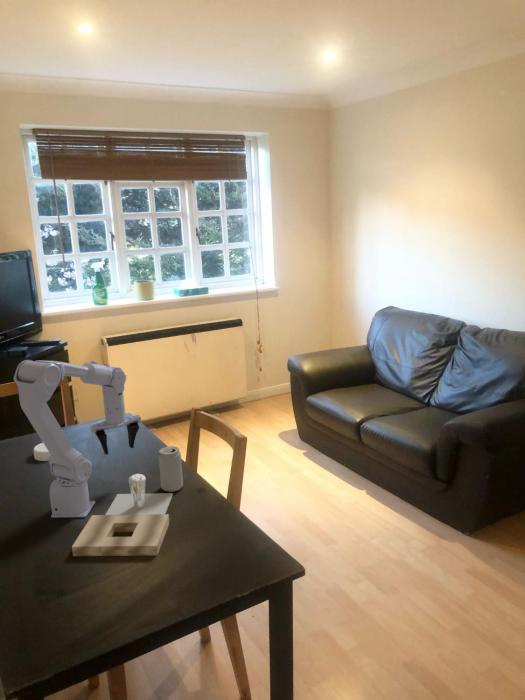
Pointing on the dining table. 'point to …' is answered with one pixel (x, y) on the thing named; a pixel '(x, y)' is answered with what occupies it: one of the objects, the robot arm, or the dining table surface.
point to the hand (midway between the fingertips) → (118, 450)
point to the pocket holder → (142, 542)
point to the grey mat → (153, 506)
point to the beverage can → (170, 469)
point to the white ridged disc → (41, 452)
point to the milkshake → (138, 490)
